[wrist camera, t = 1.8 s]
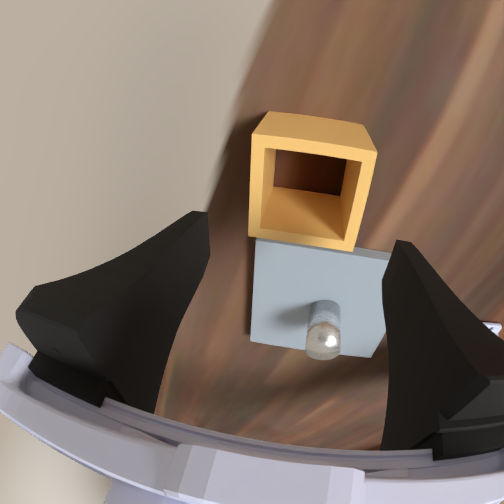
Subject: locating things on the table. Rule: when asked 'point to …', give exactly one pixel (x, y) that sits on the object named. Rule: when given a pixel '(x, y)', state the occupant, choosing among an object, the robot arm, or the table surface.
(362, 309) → the board
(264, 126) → the collar
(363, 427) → the table surface
